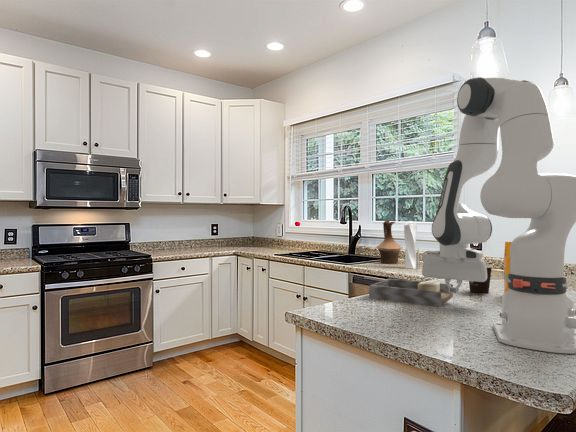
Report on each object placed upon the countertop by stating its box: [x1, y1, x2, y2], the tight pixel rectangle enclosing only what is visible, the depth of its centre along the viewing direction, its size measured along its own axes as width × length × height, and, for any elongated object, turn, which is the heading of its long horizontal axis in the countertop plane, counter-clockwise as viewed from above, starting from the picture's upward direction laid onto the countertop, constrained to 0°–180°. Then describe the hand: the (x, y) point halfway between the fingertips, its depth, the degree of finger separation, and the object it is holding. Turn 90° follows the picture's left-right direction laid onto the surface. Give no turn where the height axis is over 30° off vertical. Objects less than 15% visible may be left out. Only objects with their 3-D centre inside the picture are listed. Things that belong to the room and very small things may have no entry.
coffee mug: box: [468, 265, 493, 295], centre depth 149 cm, size 12×9×10 cm
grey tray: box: [368, 278, 454, 308], centre depth 137 cm, size 24×20×4 cm
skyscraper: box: [403, 220, 421, 270], centre depth 222 cm, size 8×8×28 cm
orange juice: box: [503, 241, 512, 294], centre depth 137 cm, size 8×9×20 cm
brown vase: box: [375, 219, 403, 265], centre depth 250 cm, size 18×17×28 cm
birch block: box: [418, 281, 441, 292], centre depth 134 cm, size 6×6×4 cm
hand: (453, 292), depth 129 cm, fingers closed
